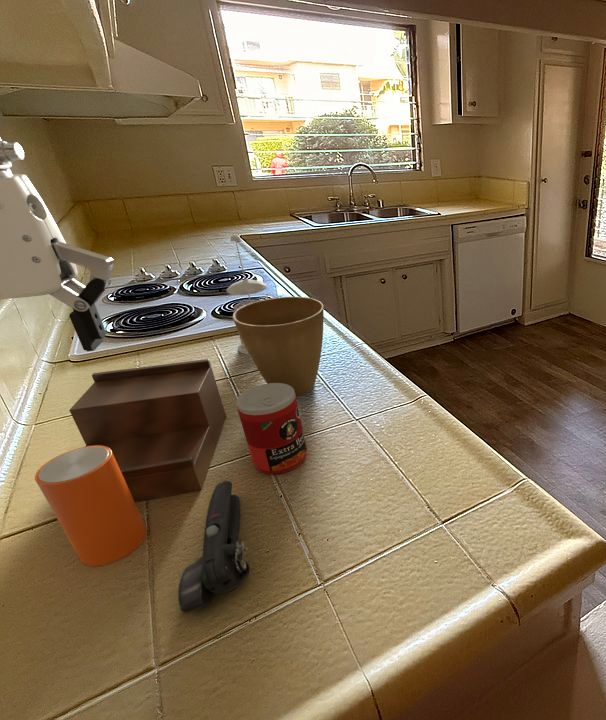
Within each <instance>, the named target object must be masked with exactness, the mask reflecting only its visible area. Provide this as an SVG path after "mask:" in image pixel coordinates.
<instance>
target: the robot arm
mask: <svg viewBox="0 0 606 720" xmlns="http://www.w3.org/2000/svg"><path fill="white" fill-rule="evenodd" d="M24 160H25V152H24V150H23V147H22V146H21V145H20V144H19V143H18V142H7V141H6V140H2V139H1V138H0V301H1V300H11V299H12V300H13V299H21V298H31V297H40V296H46V295H49V296H51V297H53V298H55V299H56V300H58V301H60V302H62V303H63V304H64V305H67V306H68V307H70V308H72V311H71V312H70V313H69V320H70V321H71V324H72V326H73V328H74V331H75V333H76V336H77V338H78V340H79V342H80V344H81V347H82V349H83V351H86V352H94V351H96V349H97V348H98V347H99V346H100V345H101V344H102V343H103V342H104V338H105V337H106V335H107V334H106V333H107V331H106V329H105V325H104V323H103V320H102V317H101V315H100V313H99V311H98V308H97V306H96V303H97V302H98V300H99V299H100V297H102V295H103V293H104V292H105V291H106V290H107V288H108V287H109V285H110V279H111V276H112V271H113V267H114V263H115V262H114V259H113V258H112V257H110V256H108V255H105V254H101V253H97V252H95V251H92V250H88V249H84V248H81V247H79V246H75V245H72V244H69V243H67V242H66V240H65V239H64V236H63V235H62V232H61V231H60V229H59V227H58V225H57V223H56V221H55V220H54V218H53V216H52V214H51V213H50V211H49V209H48V207H47V206H46V204H45V202H44V200H43V198H42V197H41V196H40V194H39V192H38V191H37V189H36V188H35V187H34V185H33V183H32V182H31V181H30V179H29V178H28V176H27V175H26V174H22V173H18V174H14V173H12V170H11V169H12V168H13V166H12V163H14V161H24ZM77 265H78V266H81V267H84V268H87V269H88V270H89V271H90V278H89V282H88V283H87V284H86V285H84V284H83V283H81V282H79V281H78V280H76V278H77V277H78V275H79V274H78V273H79V272H78V268H77Z"/></svg>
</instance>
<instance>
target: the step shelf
mask: <svg viewBox="0 0 606 720" xmlns="http://www.w3.org/2000/svg"><path fill="white" fill-rule="evenodd" d="M211 364H212V363H211V361H210V358H205V359H198V360H189V361H181V362H174V363H173V362H172V363H166V364H156V365H147V366H140V367H132V368H125V369H124V368H123V369H116V370H108V371H107V370H106V371H99V372H93V373H91V377H92V380H93V383H92V384H91V386H90V387H89V388H87V390H86V391H85V392H84V393H83V394H82V395H81V396H80V397H79V399H78V400H77V401H76V402H75V403H74V404H73V405H72V406H71V408H70V409H69V410H68V411H69V413H70V415H71V417H72V419H73V421H74V423H75V425H76V428H77V430H78V432H79V434H80V435H81V438H82V440H83V442H84V444H85V446H84V447H87V446H96V445H98V446H106V447H108V448H110V449H111V451H112V453H113V455H114V457H115V460H116V462H117V464H118V466H119V468H120V471H121V473H122V475H123V477H124V479H125V482H126V484H127V486H128V488H129V491H130V493H131V495H132V497H133V499H134V502H135V503H139V502H144V501H150V500H155V499H160V498H166V497H171V496H176V495H183V494H188V493H192V492H197V491H198V492H199V491H202V490H203V486H204V484H205V481H206V478H207V474H208V472H209V469H210V467H211V463H212V460H213V457H214V454H215V453H216V449H217V446H218V443H219V440H220V437H221V434H222V432H223V428H224V425H225V422H226V419H227V413H226V410H225V408H224V404H223V400H222V397H221V394H220V390H219V388H218V387H219V386H218V384H217V381H216V378H215V374H214V371H213V368H212V365H211Z"/></svg>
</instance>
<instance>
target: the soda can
mask: <svg viewBox="0 0 606 720" xmlns="http://www.w3.org/2000/svg"><path fill="white" fill-rule="evenodd" d="M34 480H35V482H36V484H37V486H38V488H39V489H40V491H41V493H42V494H43V496H44V498H45V500H46V502H47V504H48V505H49V507H50V509H51V510H52V512H53V514H54V516H55V517H56V519H57V522H58V523H59V525H60V526H61V528H62V530H63V532H64V533H65V535H66V537H67V539H68V541H69V543H70V544H71V546H72V548H73V550H74V551H75V553H76V555H77V556H78V558H79V560H80V562H81V563H82V564H84V565H86V566H90V567H98V566H103V565H108V564H111V563H114V562H116V561H118V560H120V559H123V558H124V557H126V556H128V555H129V554H131V553H132V552H134V551H135V550H136V549H137V548H138V547H140V545H141V544H143V542H144V541H145V538H146V536H147V535H148V534H147V533H148V528H147V526H146V523H145V522H144V521H145V520H144V519H143V517H142V515H141V512H140V510H139V508H138V506H137V503H136V502H134V499H133V497H132V495H131V493H130V491H129V488H128V486H127V484H126V482H125V479H124V477H123V475H122V473H121V471H120V468H119V466H118V464H117V462H116V460H115V457H114V455H113V453H112V451H111V449H110V448H108V447H106V446H98V445H96V446H87V447H85V446H82V447H78V448H74V449H71V450H67V451H66V452H63V453H61V454H59V455H57V456H55V457H53V458H52V459H50V460H48V461H47V462H46V463H44V464H43V465H41V467H39V468H38V469H37V471H36V473H35V476H34Z"/></svg>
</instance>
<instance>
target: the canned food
mask: <svg viewBox="0 0 606 720" xmlns="http://www.w3.org/2000/svg"><path fill="white" fill-rule="evenodd" d="M235 404H236V410H237V413H238V417H239V421H240V425H241V427H242V430H243V435H244V438H245V441H246V444H247V448H248V450H249V454H250V455H249V456H250V458H251V461H252V464H253V465H254V467H255V468H256V470H258V471H259V472H260V473H263V474H266V475H277V474H278V475H280V474H283V473H288V472H290V471H293V470H294V469H296V468H297V467H300V465H301V464H302V463H303V462H304V460H306V457H307V452H308V447H307V441H306V437H305V433H304V428H303V427H304V426H303V423H302V418H301V413H300V408H299V404H298V400H297V396H296V395H295V392H294V389H293V388H292V387H291V386H289V385H287V384H283V383H268V384H267V383H262V384H259V385H255V386H253V387H250V388H248V389H246V390H245V391H243V392H242V393H240V394H239V395H238V397H237V398H236V401H235Z"/></svg>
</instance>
